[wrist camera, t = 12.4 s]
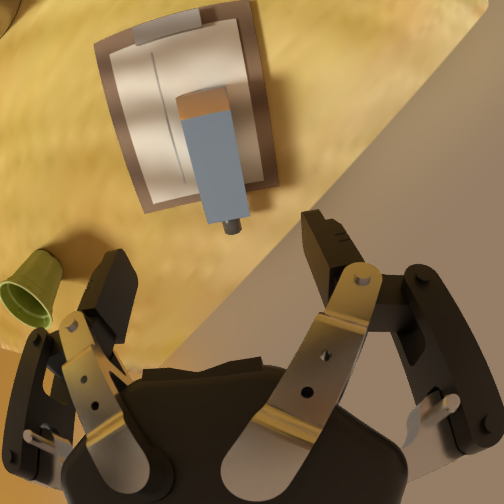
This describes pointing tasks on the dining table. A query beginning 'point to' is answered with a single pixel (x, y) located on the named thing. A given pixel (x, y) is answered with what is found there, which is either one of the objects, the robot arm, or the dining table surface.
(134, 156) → the clipboard
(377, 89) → the dining table surface
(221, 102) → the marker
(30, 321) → the plant pot
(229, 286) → the dining table surface
